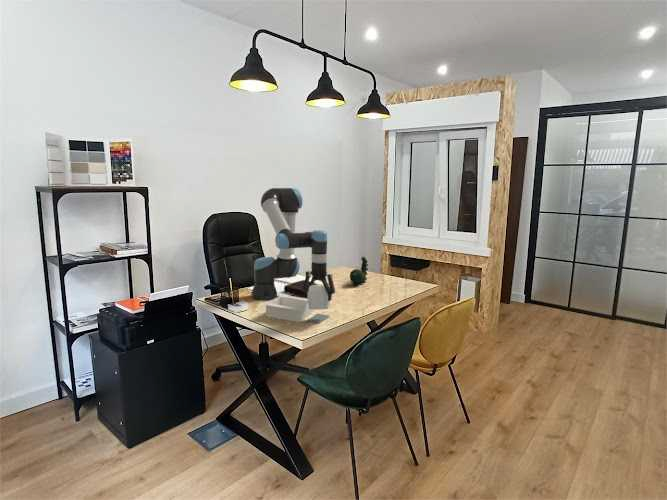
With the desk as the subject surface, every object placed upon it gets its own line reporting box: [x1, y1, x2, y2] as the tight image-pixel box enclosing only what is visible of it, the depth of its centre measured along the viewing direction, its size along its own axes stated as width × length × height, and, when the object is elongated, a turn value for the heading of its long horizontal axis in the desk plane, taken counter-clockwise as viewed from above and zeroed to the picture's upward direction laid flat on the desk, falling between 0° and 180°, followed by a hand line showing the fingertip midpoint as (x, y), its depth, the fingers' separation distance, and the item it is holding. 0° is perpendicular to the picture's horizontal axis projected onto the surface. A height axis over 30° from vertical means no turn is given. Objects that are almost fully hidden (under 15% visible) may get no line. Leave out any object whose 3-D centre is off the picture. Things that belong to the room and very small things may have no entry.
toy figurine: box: [349, 256, 369, 287], centre depth 271 cm, size 9×19×25 cm
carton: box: [262, 294, 312, 323], centre depth 205 cm, size 19×19×7 cm
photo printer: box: [307, 284, 330, 310], centre depth 199 cm, size 10×4×12 cm, turn 96°
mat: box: [306, 313, 330, 324], centre depth 201 cm, size 7×12×1 cm, turn 156°
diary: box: [283, 279, 321, 299], centre depth 247 cm, size 19×25×5 cm
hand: (318, 305), depth 199 cm, fingers closed on photo printer, 10 cm apart
